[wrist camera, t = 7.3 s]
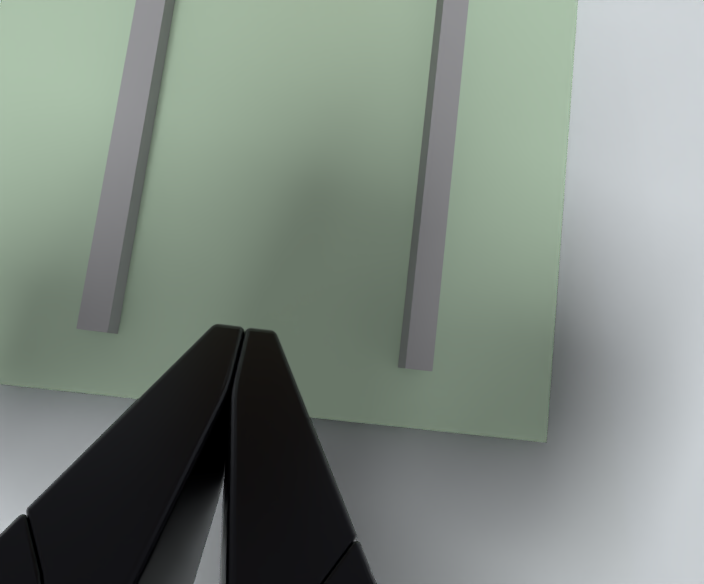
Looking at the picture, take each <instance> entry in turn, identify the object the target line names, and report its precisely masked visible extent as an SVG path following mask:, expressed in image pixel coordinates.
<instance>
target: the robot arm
mask: <svg viewBox="0 0 704 584" xmlns="http://www.w3.org/2000/svg"><path fill="white" fill-rule="evenodd" d="M224 474H225V475H224ZM223 479H224V490H223V505H222V530H221V555H220V579H219V584H377V583H376V581H375V579H374V576H373V574H372V572H371V569H370V567H369V564H368V562H367V559H366V557H365V554H364V552H363V549H362V546H361V544H360V543H359V542H358V541H356V539H357V535H356V532H355V530H354V527H353V525H352V522H351V520H350V517H349V515H348V512H347V509H346V507H345V504H344V502H343V499H342V497H341V494H340V492H339V489H338V487H337V484H336V482H335V479H334V477H333V474H332V472H331V469H330V467H329V464H328V461H327V459H326V456H325V454H324V451H323V449H322V446H321V444H320V441H319V439H318V436H317V434H316V431H315V429H314V426H313V424H312V421H311V419H310V416H309V413H308V411H307V408H306V406H305V403H304V401H303V398H302V396H301V393H300V391H299V388H298V386H297V383H296V381H295V378H294V376H293V373H292V371H291V368H290V366H289V363H288V360H287V358H286V355H285V353H284V350H283V348H282V345H281V343H280V340H279V338H278V335H277V334H276V332H274V331H273V330H266V329H258V328H248V329H246V331H244V329H243V328H242V327H240V326H234V325H225V324H215V325H213V326H211V327H210V328H209V329H208V330H207V331H206V332H205V333H204V334H203V335H202V336H201V337H200V338H199V339H198V340H197V341H196V342H195V343H194V344H193V345H192V346H191V347H190V348H189V349H188V350H187V351H186V352H185V353H184V354H183V355H182V356H181V357H180V358H179V359H178V360H177V361H176V362H175V363H174V364H173V365H172V366H171V367H170V368H169V369H168V370H167V371H166V372H165V373H164V374H163V375H162V376H161V377H160V378H159V379H158V380H157V381H156V382H155V383H154V384H153V385H152V386H151V387H150V388H149V389H148V390H147V391H146V392H145V393H143V394H142V395H141V396H140V397H139V398H138V399H137V400H136V401H135V402H134V403H133V404H132V405H131V406H130V407H129V408H128V409H127V410H126V411H125V412H124V413H123V414H122V415H121V416H120V417H119V418H118V419H117V420H116V421H115V422H114V423H113V424H112V425H111V426H110V427H109V428H108V429H107V430H106V431H105V432H104V433H103V434H102V435H101V436H100V437H99V438H98V439H97V440H96V441H95V442H94V443H93V444H92V445H91V446H90V447H89V448H88V449H87V450H86V451H85V452H84V453H83V454H82V455H81V456H80V457H79V458H78V459H77V460H76V461H75V462H74V463H73V464H72V465H71V466H70V467H69V468H68V469H67V470H66V471H65V472H63V473H62V474H61V475H60V476H59V477H58V478H57V479H56V480H55V481H54V482H53V483H52V484H51V485H50V486H49V487H48V488H47V489H46V490H45V491H44V492H43V493H42V494H41V495H40V496H39V497H38V498H37V499H36V500H35V501H34V502H33V503H32V504H31V505H30V506H29V507H28V508H27V510H26V513H27V516H26V515H24V514H22V515H20V516H18V517H17V518H16V519H15V520H14V521H13V522H12V523H11V524H10V525H9V526H8V527H7V528H6V529H5V530H4V531H3V532H2V533H1V534H0V584H193V583H194V580H195V577H196V573H197V570H198V567H199V563H200V560H201V557H202V553H203V550H204V547H205V543H206V540H207V537H208V533H209V530H210V527H211V523H212V520H213V517H214V513H215V510H216V507H217V503H218V500H219V496H220V492H221V488H222V484H223Z"/></svg>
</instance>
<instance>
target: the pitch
mask: <svg viewBox="0 0 704 584" xmlns="http://www.w3.org/2000/svg"><path fill="white" fill-rule="evenodd" d="M577 6H578V0H1V3H0V384H1V385H11V386H20V387H29V388H39V389H48V390H57V391H67V392H76V393H85V394H95V395H104V396H113V397H123V398H132V399H138V398H139V397H140V396H141V395H142V394H143V393H145V392H146V391H147V390H148V389H149V388H150V387H151V386H152V385H153V384H154V383H155V382H156V381H157V380H158V379H159V378H160V377H161V376H162V375H163V374H164V373H165V372H166V371H167V370H168V369H169V368H170V367H171V366H172V365H173V364H174V363H175V362H176V361H177V360H178V359H179V358H180V357H181V356H182V355H183V354H184V353H185V352H186V351H187V350H188V349H189V348H190V347H191V346H192V345H193V344H194V343H195V342H196V341H197V340H198V339H199V338H200V337H201V336H202V335H203V334H204V333H205V332H206V331H207V330H208V329H209V328H210V327H211V326H213V325H215V324H225V325H234V326H240V327H242V328H243V329H244V331H246V329H248V328H258V329H266V330H273V331H274V332H276V334H277V335H278V338H279V340H280V343H281V345H282V348H283V350H284V353H285V355H286V358H287V360H288V363H289V366H290V368H291V371H292V373H293V376H294V378H295V381H296V383H297V386H298V388H299V391H300V393H301V396H302V398H303V401H304V403H305V406H306V408H307V411H308V413H309V416H310V418H319V419H328V420H338V421H347V422H357V423H366V424H375V425H385V426H394V427H403V428H413V429H422V430H431V431H441V432H450V433H459V434H469V435H478V436H487V437H497V438H506V439H515V440H525V441H534V442H544V443H546V442H547V428H548V414H549V400H550V386H551V372H552V358H553V344H554V330H555V316H556V302H557V287H558V273H559V259H560V245H561V231H562V217H563V203H564V189H565V175H566V161H567V147H568V132H569V118H570V104H571V90H572V76H573V62H574V48H575V34H576V20H577Z"/></svg>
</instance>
